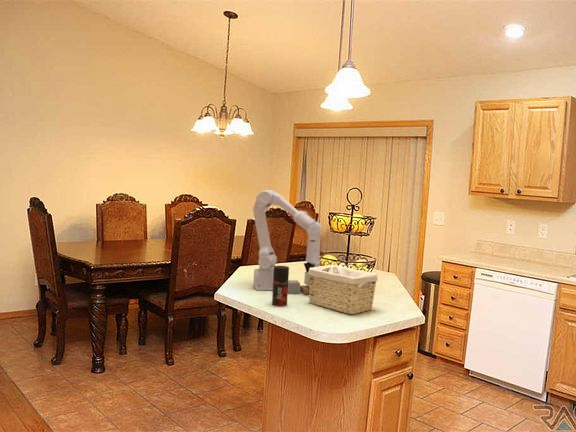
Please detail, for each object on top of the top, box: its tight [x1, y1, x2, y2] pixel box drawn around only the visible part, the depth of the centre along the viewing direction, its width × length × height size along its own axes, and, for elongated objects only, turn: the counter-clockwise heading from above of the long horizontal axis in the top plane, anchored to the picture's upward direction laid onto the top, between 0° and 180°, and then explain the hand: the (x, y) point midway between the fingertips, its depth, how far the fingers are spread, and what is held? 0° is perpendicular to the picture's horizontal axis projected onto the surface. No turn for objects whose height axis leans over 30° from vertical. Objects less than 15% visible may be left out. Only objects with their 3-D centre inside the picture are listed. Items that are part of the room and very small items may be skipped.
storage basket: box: [308, 264, 379, 315], centre depth 194 cm, size 24×16×15 cm
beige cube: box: [304, 271, 309, 286], centre depth 214 cm, size 5×5×5 cm
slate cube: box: [288, 279, 301, 295], centre depth 213 cm, size 5×5×5 cm
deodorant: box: [271, 265, 290, 308], centre depth 192 cm, size 6×6×15 cm
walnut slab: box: [300, 284, 313, 297], centre depth 214 cm, size 8×8×3 cm
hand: (311, 280), depth 214 cm, fingers closed on beige cube, 5 cm apart
